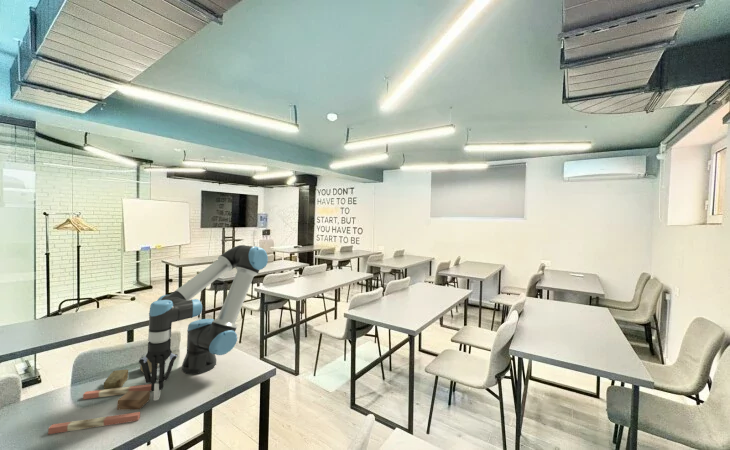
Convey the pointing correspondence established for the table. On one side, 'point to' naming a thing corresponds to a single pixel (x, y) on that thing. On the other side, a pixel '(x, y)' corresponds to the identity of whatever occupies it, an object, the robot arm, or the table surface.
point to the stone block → (116, 379)
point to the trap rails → (109, 419)
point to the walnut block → (133, 400)
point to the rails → (100, 421)
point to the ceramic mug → (148, 364)
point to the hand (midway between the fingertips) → (156, 398)
